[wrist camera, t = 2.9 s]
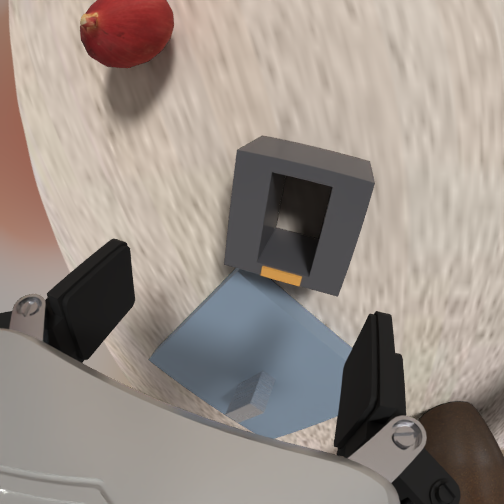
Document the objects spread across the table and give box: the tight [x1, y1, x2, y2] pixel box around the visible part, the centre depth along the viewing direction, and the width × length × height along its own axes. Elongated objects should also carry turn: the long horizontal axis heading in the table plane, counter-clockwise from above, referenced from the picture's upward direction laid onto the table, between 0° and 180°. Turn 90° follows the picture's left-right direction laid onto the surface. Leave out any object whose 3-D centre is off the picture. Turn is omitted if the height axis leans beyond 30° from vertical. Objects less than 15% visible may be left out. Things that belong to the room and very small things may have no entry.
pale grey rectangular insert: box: [225, 370, 275, 423], centre depth 28 cm, size 2×4×4 cm, turn 142°
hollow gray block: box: [224, 136, 375, 296], centre depth 19 cm, size 7×7×5 cm
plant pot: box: [419, 401, 504, 504], centre depth 21 cm, size 15×15×16 cm
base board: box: [149, 268, 352, 439], centre depth 30 cm, size 18×18×2 cm
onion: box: [80, 0, 174, 68], centre depth 15 cm, size 6×6×8 cm
